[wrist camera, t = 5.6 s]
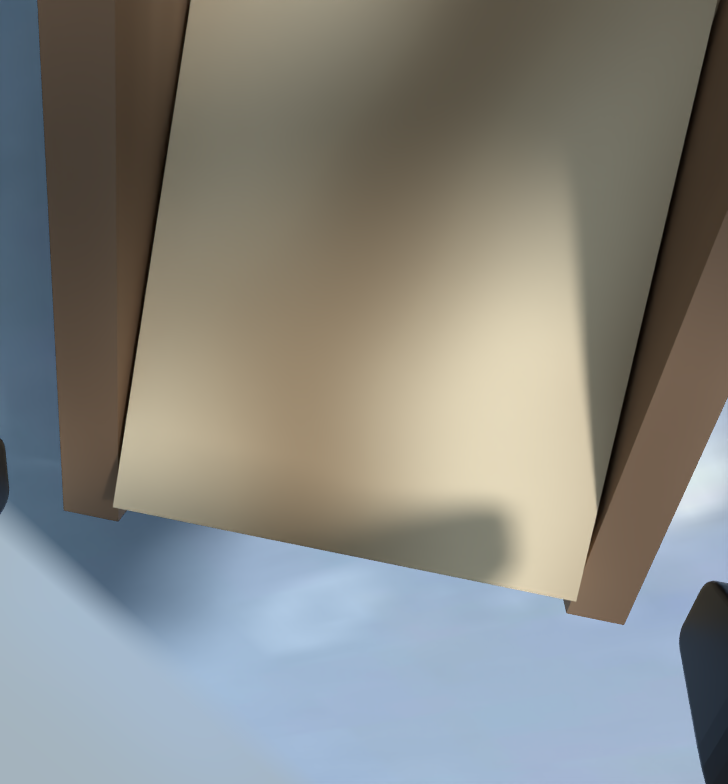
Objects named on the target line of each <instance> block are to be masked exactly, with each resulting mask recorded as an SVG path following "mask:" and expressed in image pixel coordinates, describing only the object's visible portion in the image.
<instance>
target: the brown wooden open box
mask: <svg viewBox="0 0 728 784" xmlns="http://www.w3.org/2000/svg"><path fill="white" fill-rule="evenodd" d="M37 3H38V23H39V42H40V61H41V81H42V100H43V119H44V138H45V158H46V177H47V196H48V216H49V235H50V254H51V274H52V293H53V312H54V332H55V351H56V370H57V390H58V409H59V428H60V448H61V467H62V486H63V506H64V511H69V512H74V513H79V514H84V515H89V516H94V517H99V518H103V519H108V520H113V521H119V520H120V519H121V517H122V516H123V515H124V513H125V512H126V511H127V510H129V511H134V512H139V513H144V514H148V515H153V516H158V517H163V518H168V519H173V520H178V521H183V522H188V523H193V524H197V525H202V526H207V527H212V528H217V529H222V530H227V531H232V532H237V533H242V534H247V535H251V536H256V537H261V538H266V539H271V540H276V541H281V542H286V543H291V544H296V545H300V546H305V547H310V548H315V549H320V550H325V551H330V552H335V553H340V554H345V555H350V556H354V557H359V558H364V559H369V560H374V561H379V562H384V563H389V564H394V565H399V566H403V567H408V568H413V569H418V570H423V571H428V572H433V573H438V574H443V575H448V576H453V577H457V578H462V579H467V580H472V581H477V582H482V583H487V584H492V585H497V586H502V587H506V588H511V589H516V590H521V591H526V592H531V593H536V594H541V595H546V596H551V597H556V598H560V599H563V600H564V604H565V609H566V613H568V614H573V615H578V616H582V617H587V618H592V619H597V620H602V621H607V622H612V623H617V624H622V625H624V624H625V622H626V619H627V617H628V615H629V613H630V611H631V608H632V606H633V604H634V602H635V600H636V597H637V595H638V593H639V591H640V589H641V586H642V584H643V582H644V580H645V578H646V575H647V573H648V571H649V569H650V567H651V564H652V562H653V560H654V558H655V556H656V554H657V551H658V549H659V547H660V545H661V543H662V540H663V538H664V536H665V534H666V532H667V529H668V527H669V525H670V523H671V521H672V518H673V516H674V514H675V512H676V510H677V507H678V505H679V503H680V501H681V499H682V497H683V494H684V492H685V490H686V488H687V486H688V483H689V481H690V479H691V477H692V475H693V472H694V470H695V468H696V466H697V464H698V461H699V459H700V457H701V455H702V453H703V450H704V448H705V446H706V444H707V442H708V439H709V437H710V435H711V433H712V431H713V429H714V426H715V424H716V422H717V420H718V418H719V415H720V413H721V411H722V409H723V407H724V404H725V402H726V400H727V398H728V0H37Z"/></svg>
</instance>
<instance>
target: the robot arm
mask: <svg viewBox="0 0 728 784" xmlns="http://www.w3.org/2000/svg"><path fill="white" fill-rule="evenodd" d="M8 495H9V483H8V473H7V462H6V452H5V446H4V443H3V441H2V440H1V439H0V514H1V512H2V511H3V509H4V507H5V505H6V503H7V499H8ZM679 646H680V653H681V659H682V665H683V670H684V676H685V681H686V687H687V693H688V698H689V704H690V709H691V715H692V721H693V726H694V732H695V737H696V743H697V749H698V753H699V758H700V763H701V768H702V772H703V775H704V779H705V783H706V784H728V583H724V582H719V581H710V582H707V583H706V584H705V585H704V586H703V587H702V589H701V590H700V592H699V594H698V596H697V598H696V600H695V602H694V604H693V606H692V608H691V610H690V612H689V614H688V616H687V618H686V620H685V622H684V624H683V626H682V628H681V632H680V638H679Z"/></svg>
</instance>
